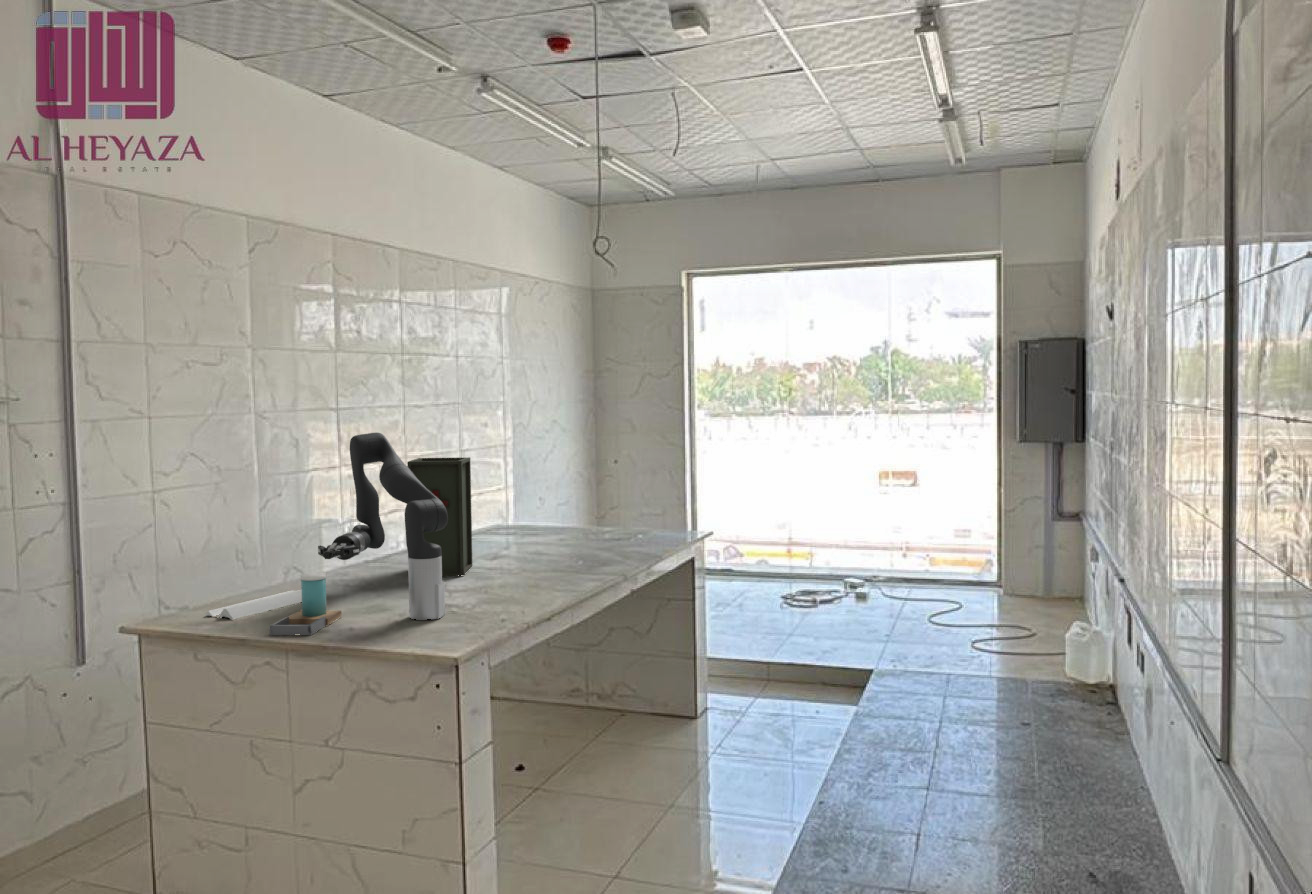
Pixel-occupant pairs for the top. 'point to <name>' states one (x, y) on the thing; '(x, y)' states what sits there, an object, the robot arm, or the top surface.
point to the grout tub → (313, 594)
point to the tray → (296, 627)
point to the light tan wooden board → (313, 617)
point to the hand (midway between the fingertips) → (327, 555)
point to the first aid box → (449, 508)
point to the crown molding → (258, 605)
